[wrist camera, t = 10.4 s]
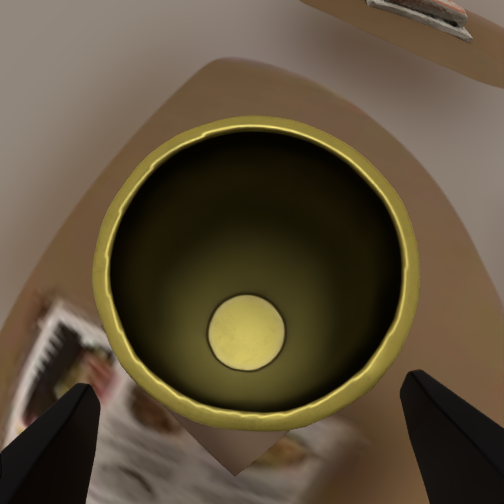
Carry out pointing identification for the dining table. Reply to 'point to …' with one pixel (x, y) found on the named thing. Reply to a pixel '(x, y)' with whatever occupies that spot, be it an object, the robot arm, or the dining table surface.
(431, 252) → the dining table surface
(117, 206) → the vase
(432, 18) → the packaged product
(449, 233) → the dining table surface
